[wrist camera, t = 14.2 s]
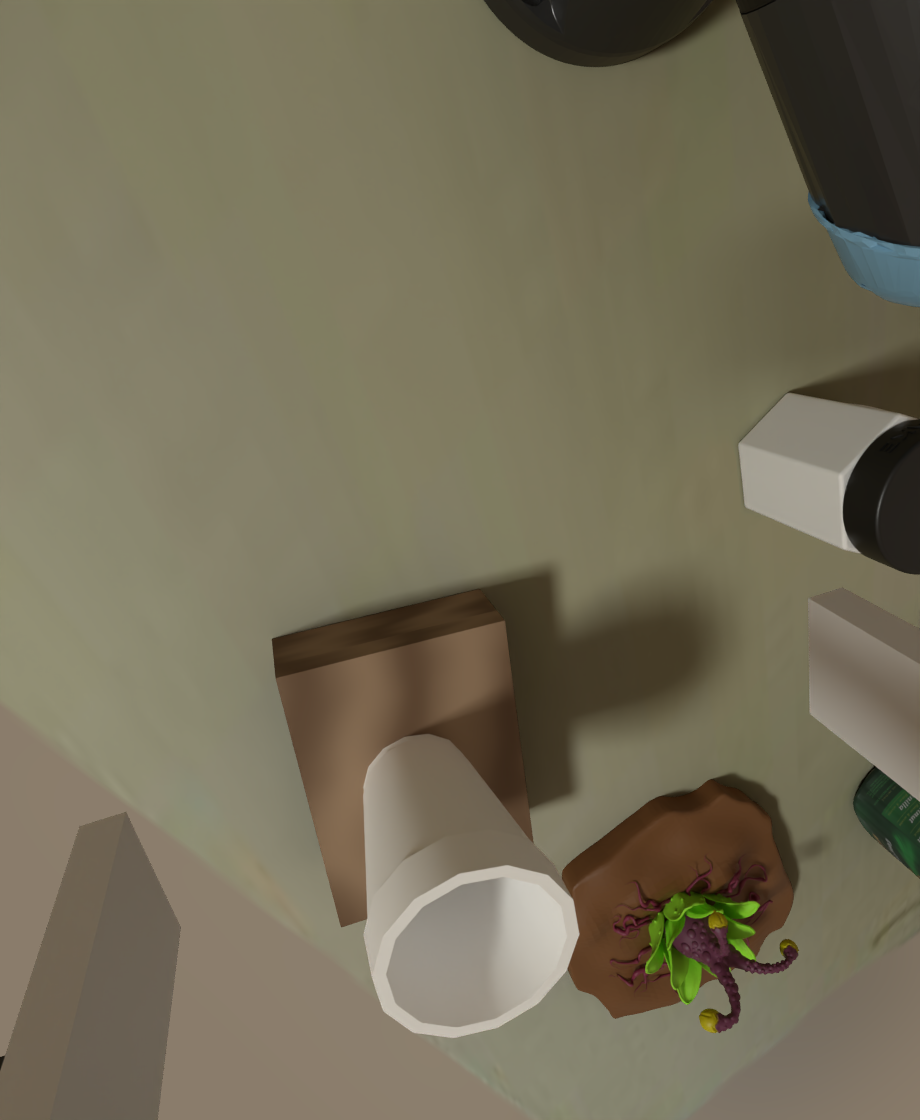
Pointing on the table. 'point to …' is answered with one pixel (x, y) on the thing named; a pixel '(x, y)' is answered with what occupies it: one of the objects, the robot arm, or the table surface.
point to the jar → (838, 476)
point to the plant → (678, 903)
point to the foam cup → (456, 896)
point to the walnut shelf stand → (396, 714)
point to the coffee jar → (890, 817)
